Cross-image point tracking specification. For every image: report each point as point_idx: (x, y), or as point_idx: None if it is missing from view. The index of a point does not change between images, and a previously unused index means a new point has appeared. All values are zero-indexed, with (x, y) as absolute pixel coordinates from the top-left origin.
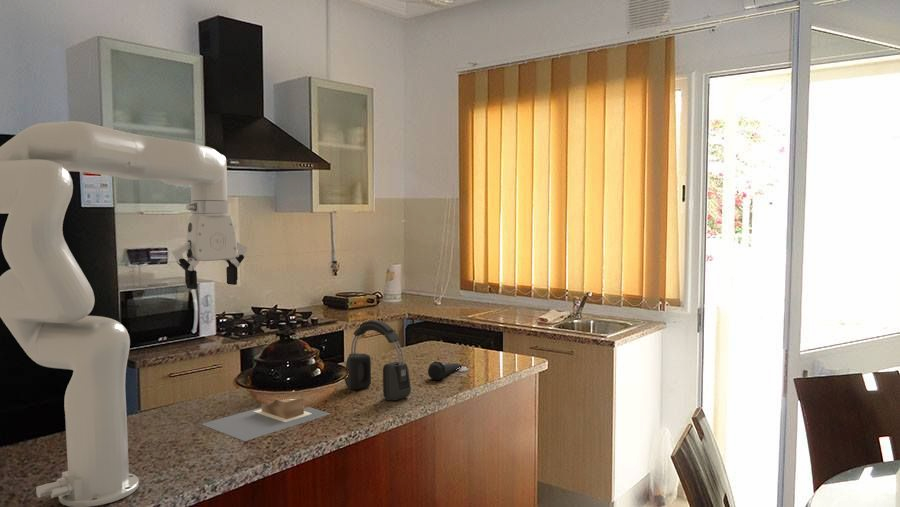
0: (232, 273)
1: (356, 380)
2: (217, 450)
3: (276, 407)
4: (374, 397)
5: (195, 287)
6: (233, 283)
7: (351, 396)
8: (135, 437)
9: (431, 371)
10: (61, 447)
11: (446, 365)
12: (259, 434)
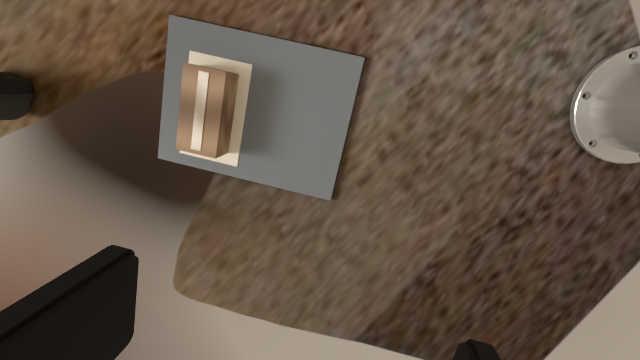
0: (59, 328)
1: (10, 79)
2: (409, 79)
3: (228, 106)
4: (39, 16)
5: (484, 344)
6: (133, 262)
7: (63, 66)
8: (415, 254)
9: None
10: (493, 317)
11: None
12: (325, 59)
